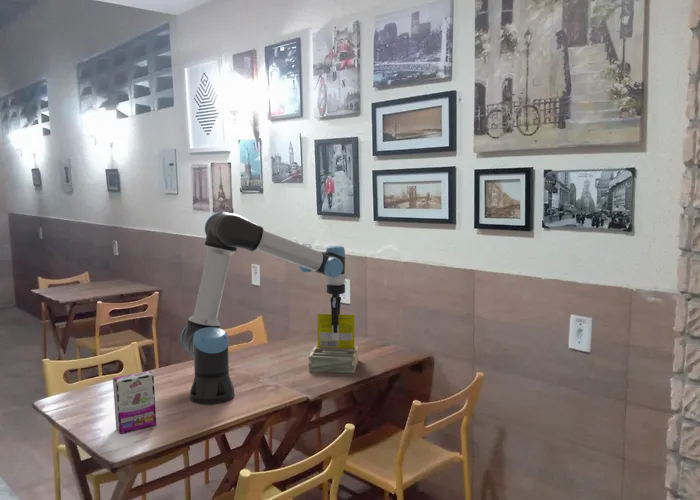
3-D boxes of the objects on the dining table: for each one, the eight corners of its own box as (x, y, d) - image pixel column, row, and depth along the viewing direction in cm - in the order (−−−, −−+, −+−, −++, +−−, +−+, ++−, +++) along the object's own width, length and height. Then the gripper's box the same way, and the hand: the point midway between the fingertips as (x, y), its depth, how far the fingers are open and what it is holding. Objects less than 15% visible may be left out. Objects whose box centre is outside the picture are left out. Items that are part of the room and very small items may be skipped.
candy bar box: (151, 420, 186) (149, 370, 184) (156, 425, 182) (154, 374, 180) (114, 429, 180) (112, 377, 177) (119, 434, 176) (116, 381, 173)
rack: (354, 373, 231) (354, 358, 230) (308, 371, 233) (308, 356, 232) (358, 360, 247) (358, 346, 246) (315, 358, 249) (315, 345, 248)
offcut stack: (348, 368, 237) (348, 353, 236) (318, 366, 238) (318, 352, 238) (349, 364, 242) (349, 349, 241) (320, 363, 243) (320, 348, 242)
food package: (354, 361, 245) (354, 314, 243) (354, 362, 244) (354, 315, 242) (317, 360, 247) (317, 313, 244) (317, 361, 246) (317, 314, 243)
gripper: (342, 286, 234) (342, 344, 237) (346, 280, 248) (346, 335, 251) (324, 286, 235) (324, 343, 238) (329, 280, 249) (329, 334, 252)
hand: (335, 339), depth 244 cm, fingers closed on food package
